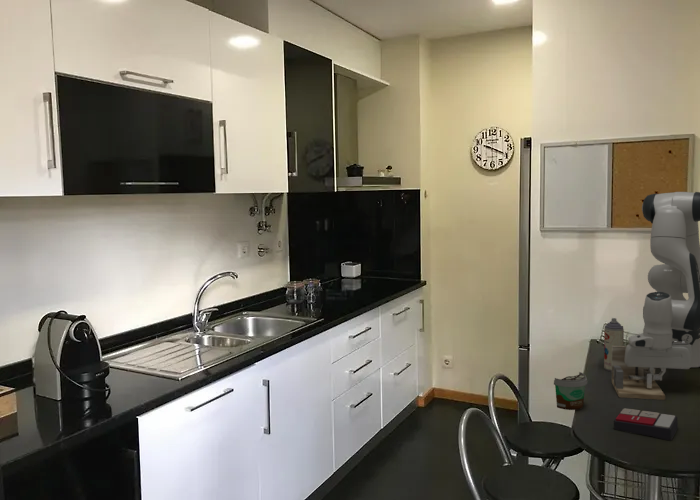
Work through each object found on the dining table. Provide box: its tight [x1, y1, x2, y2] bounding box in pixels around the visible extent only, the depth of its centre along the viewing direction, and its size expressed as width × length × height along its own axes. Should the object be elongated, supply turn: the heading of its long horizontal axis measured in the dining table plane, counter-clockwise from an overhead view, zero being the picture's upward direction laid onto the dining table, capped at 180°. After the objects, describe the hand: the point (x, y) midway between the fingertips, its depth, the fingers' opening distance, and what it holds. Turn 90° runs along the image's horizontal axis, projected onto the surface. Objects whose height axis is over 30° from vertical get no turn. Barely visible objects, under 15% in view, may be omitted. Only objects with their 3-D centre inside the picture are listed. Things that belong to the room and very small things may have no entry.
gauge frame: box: [611, 345, 666, 401], centre depth 204 cm, size 16×14×14 cm
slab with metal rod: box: [628, 369, 652, 388], centre depth 205 cm, size 8×7×5 cm
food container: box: [553, 371, 588, 411], centre depth 191 cm, size 12×6×10 cm, turn 117°
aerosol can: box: [603, 317, 625, 373], centre depth 228 cm, size 7×7×20 cm
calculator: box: [613, 407, 679, 442], centre depth 173 cm, size 11×4×15 cm
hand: (656, 379), depth 203 cm, fingers closed
